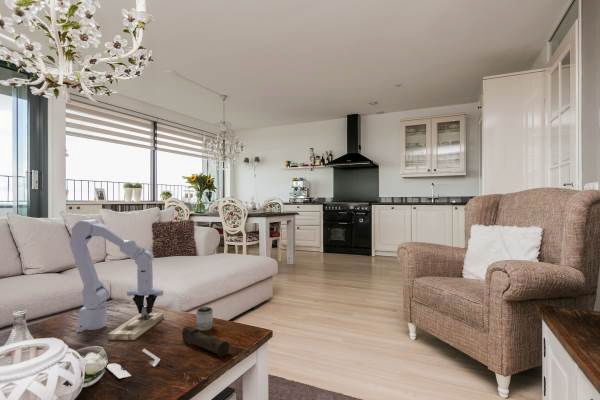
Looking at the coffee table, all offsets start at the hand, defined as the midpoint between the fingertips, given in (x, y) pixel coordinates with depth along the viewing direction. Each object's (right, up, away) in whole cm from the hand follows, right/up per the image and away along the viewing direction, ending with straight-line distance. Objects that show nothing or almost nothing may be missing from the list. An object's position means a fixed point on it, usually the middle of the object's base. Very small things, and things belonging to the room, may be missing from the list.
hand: (145, 312), depth 134 cm
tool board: (0, -5, -5) cm, 7 cm away
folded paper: (+12, -5, -33) cm, 36 cm away
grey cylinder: (0, -3, 0) cm, 3 cm away
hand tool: (+30, -5, -22) cm, 37 cm away
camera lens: (+26, -5, -4) cm, 27 cm away
